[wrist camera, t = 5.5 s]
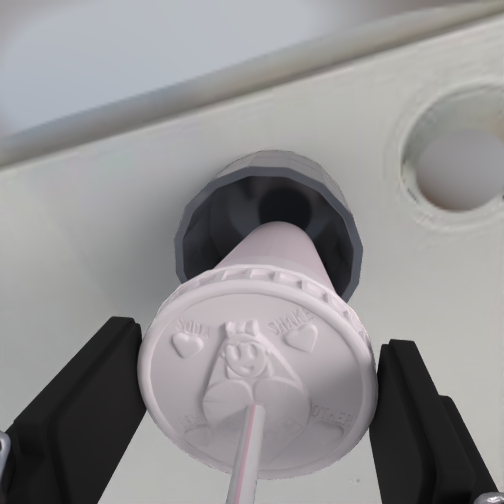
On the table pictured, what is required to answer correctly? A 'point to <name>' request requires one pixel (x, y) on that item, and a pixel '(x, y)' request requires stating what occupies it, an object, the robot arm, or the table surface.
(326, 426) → the smoothie
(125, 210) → the table surface
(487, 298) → the table surface
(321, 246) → the grey cup holder
